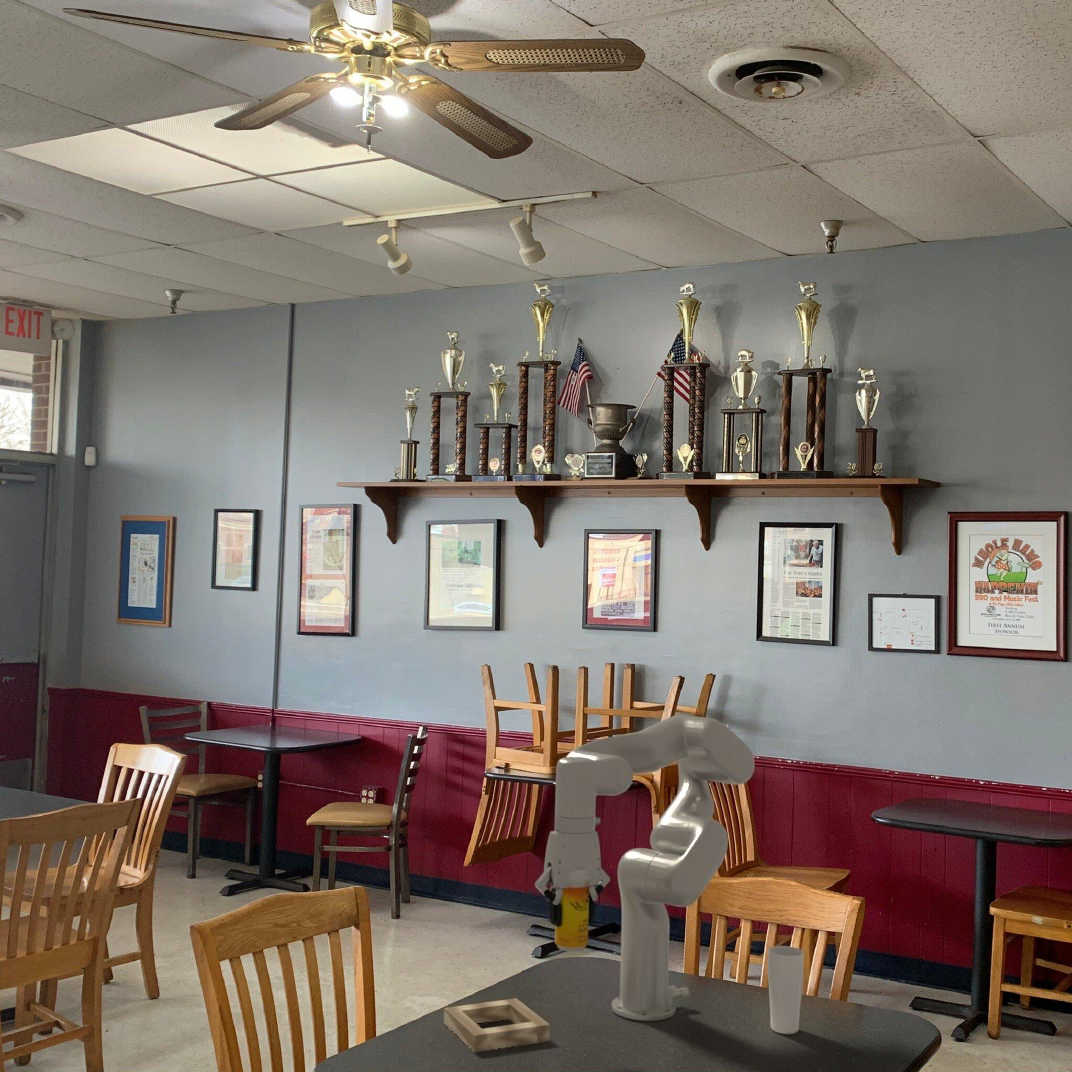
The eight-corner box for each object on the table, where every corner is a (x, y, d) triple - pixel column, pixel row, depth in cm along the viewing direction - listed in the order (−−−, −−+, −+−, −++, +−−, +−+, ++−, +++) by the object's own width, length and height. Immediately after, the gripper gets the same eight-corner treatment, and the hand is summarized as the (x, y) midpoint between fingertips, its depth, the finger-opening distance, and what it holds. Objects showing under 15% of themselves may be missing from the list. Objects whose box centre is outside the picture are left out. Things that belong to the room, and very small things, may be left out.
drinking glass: (806, 1027, 231) (807, 948, 231) (798, 1039, 224) (799, 958, 225) (771, 1021, 233) (772, 943, 234) (762, 1032, 227) (764, 952, 228)
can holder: (515, 1013, 234) (516, 998, 234) (549, 1041, 220) (549, 1024, 220) (443, 1024, 227) (444, 1008, 227) (474, 1052, 214) (474, 1035, 214)
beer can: (585, 953, 218) (587, 870, 219) (552, 950, 219) (554, 867, 220) (589, 944, 224) (591, 863, 225) (557, 941, 225) (559, 860, 226)
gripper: (604, 818, 230) (601, 913, 229) (524, 823, 222) (520, 922, 221) (624, 825, 223) (622, 923, 222) (542, 831, 215) (539, 933, 214)
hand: (571, 922), depth 222 cm, fingers closed on beer can, 6 cm apart
